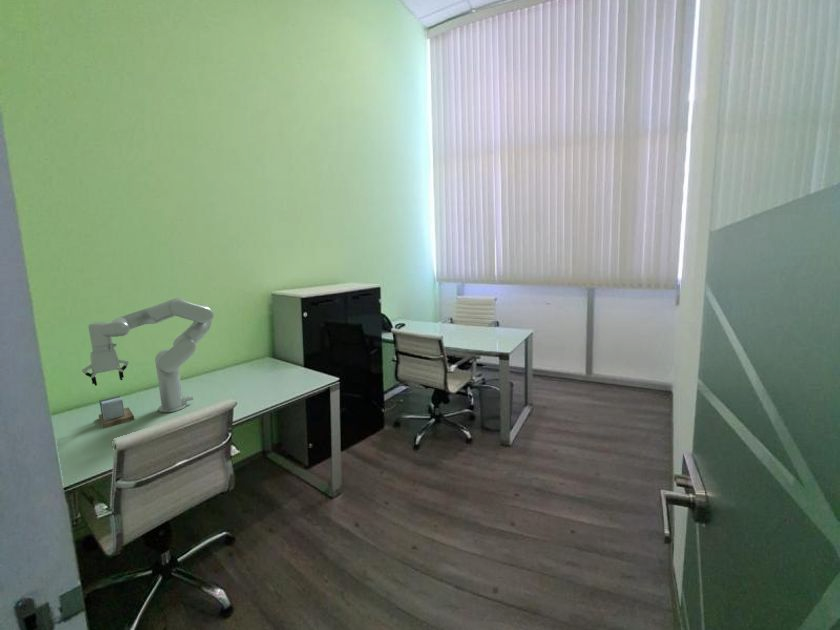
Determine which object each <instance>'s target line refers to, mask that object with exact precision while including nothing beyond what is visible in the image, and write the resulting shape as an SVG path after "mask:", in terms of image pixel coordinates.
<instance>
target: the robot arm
mask: <svg viewBox="0 0 840 630" xmlns="http://www.w3.org/2000/svg"><path fill="white" fill-rule="evenodd" d="M214 316H215V315H214V311H213V310H212V309H211V308H210V307H209V306H207V305H205V304H195V303H194V302H193V303H192V302H189V301H187V300H185V299H184V298H182V297H175V298H172V299H169V300H167V301H164V302H161V303H158V304H156V305H153V306H149V307H147V308H143V309H140V310H137V311H134V312H131V313H128V314H125V315H122V316H120V317H117V318H115V319H114V320H112V321H111V322H107V321H97V322H92V323H89V324H88V327H87V328H88V333H89V337H90V338H89V339H90V343H91V349H92V351H91V352H90V355H89V356H90V365H87V366H86V367H85V368H82V370H81V372H82V373H84V375H85V376H87V377H89V378H91V383H92V385H94V386H95V387H97V386H98V382H97V378H96V375H97V374H99V373H105V372H111V371H114V370H117V371H118V377H119V380H120V381H123V378H124V377H125V376H124V371H125V370H126V368H127V367H128V365H129V361H127V360H124V359H119V356H118V353H117V350H116V348H115V347H117V343H113V337H114V338H115V337H117V338H118V337H120V338H121V337H125V336H127V335H128V334H129V333H130V331H131V330H133V329H135V328H138V327H141V326H144V325H152V324H153V325H156V324H159V323H162V322H163V321H166V320H168V319H171V318H175V317H179V318H181V319H184V320H188V321H192V323H191V324H190V325H189V327H188V328H187V329H186V330H183V332H182V333H181V334H180V335H178V336H177V337H176V338H175V339H174V341H173V343H172V347H171V348H170V349H163V350H160V351H159V352H158V353H157V354H156V355H155V359H154V361H155V368H156V374H157V382H158V389H159V394H160V395H159V397H160V402H161V403H160V405H159V407H158V408H157V409H158V412H160V413H166V414H167V413H173V412H174V413H175V412H177V411H181V410H182V409H184V408H185V407H187V405H188V404H187V402H190V401H193V400H194V397H193V396H189V395H187V396H185V397H184V396H183V392H182V391H183V390H182V384H181V383H182V382H181V374H180V370H179V369H180V367H181V366H183V364H185V362H187V360H189V359H190V358H191V357H192V356H193V355H194V353H195V352H196V351H197V344H198V343H199V342H200V341H201V340H202V339H203V338H204V337H205V336H206V334H208V333H209V331H210V329H211V326H212V320H213V319H214ZM121 364H123V365H122V366H120V365H121ZM90 369H91V371H92V372H91V373H90V372H89V370H90Z"/></svg>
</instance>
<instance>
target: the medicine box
mask: <svg viewBox="0 0 840 630" xmlns="http://www.w3.org/2000/svg"><path fill="white" fill-rule="evenodd" d="M101 408H102V413H103V418H104V420H105V421H106V420H110V419H113V418H117V417H121V416H124V415H125V413H124V401H123V399H122V397H121V396H120V397H119V398H115V399H111V400H107V401H103V402H101ZM101 408H100V409H101Z"/></svg>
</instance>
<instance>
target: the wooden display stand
mask: <svg viewBox="0 0 840 630" xmlns="http://www.w3.org/2000/svg"><path fill="white" fill-rule="evenodd" d="M119 397H121V395H118V396H114V397H110V398H104V399H100V400H99V403H98V404H99V406H100V407H99V408H100V414H98V419H99V422H100V423H101V426H102V429H106V428H109V427H112V426H116V425H120V424H124V423H127V422H131V421H134V420H135V416H134V414H133V412H132V410H131V409H130V408H129V407H125V408H124V413H125V415H124V416H121V417H117V418H113V419H110V420H106V421H105V420H104V418H103V413H102V408H101V402H103V401H107V400H111V399H115V398H119Z"/></svg>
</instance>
